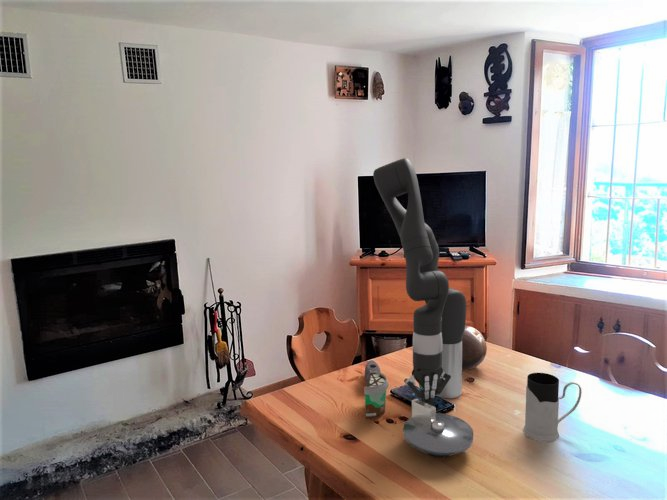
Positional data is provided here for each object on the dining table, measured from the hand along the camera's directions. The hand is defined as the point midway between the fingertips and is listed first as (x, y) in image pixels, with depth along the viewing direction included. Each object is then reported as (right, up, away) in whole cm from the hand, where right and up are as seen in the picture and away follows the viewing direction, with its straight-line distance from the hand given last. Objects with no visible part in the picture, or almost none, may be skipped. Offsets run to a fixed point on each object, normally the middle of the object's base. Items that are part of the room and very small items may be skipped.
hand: (427, 409), depth 128 cm
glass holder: (+32, -6, 0) cm, 33 cm away
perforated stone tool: (-12, -2, +33) cm, 35 cm away
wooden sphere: (+21, +1, +42) cm, 47 cm away
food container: (-12, -5, +14) cm, 19 cm away
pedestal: (+1, -8, -6) cm, 10 cm away
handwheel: (+1, -4, -7) cm, 8 cm away
